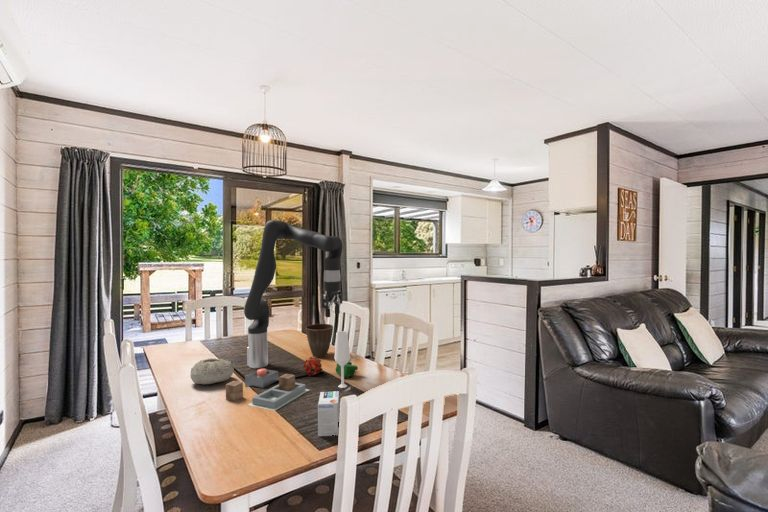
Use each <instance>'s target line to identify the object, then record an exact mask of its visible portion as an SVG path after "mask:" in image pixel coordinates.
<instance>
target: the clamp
mask: <svg viewBox="0 0 768 512" xmlns="http://www.w3.org/2000/svg"><path fill="white" fill-rule="evenodd" d="M357 370H358V366H357V365H355V364H352V362H351V361H349V362H348V363H347V364H346V365H344V379H345V378H346V379H349V378H350V376H355V375H356V374H355V373H356V371H357ZM335 372H336V373H337V374H338V375H339V376H341V366H340V365H339V364H338V363H337V362H336V367H335Z"/></svg>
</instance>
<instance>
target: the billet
mask: <svg viewBox="0 0 768 512" xmlns="http://www.w3.org/2000/svg"><path fill="white" fill-rule="evenodd" d="M295 383H296V374H291V373H290V374H289V373H285V374H282V375H281V376H279V380H278V384H279V390H283V391H291V390H293V389H294V388H295Z"/></svg>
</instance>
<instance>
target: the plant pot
mask: <svg viewBox="0 0 768 512" xmlns="http://www.w3.org/2000/svg"><path fill="white" fill-rule="evenodd" d="M333 330H334V325H332V324H330V323H329V324H328V323H314V324H309V325H306V326H305V333H306V337H307V342H308V346H309V349H310V352H311V354H312V357H316V358H325V357H326V356H327V355H328V353H329V349H330V346H331V342H332V338H333Z"/></svg>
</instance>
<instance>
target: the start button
mask: <svg viewBox="0 0 768 512" xmlns="http://www.w3.org/2000/svg"><path fill="white" fill-rule="evenodd" d="M267 370H268V369H267V368H257V375H260V376H263V375H266V374H267Z"/></svg>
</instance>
